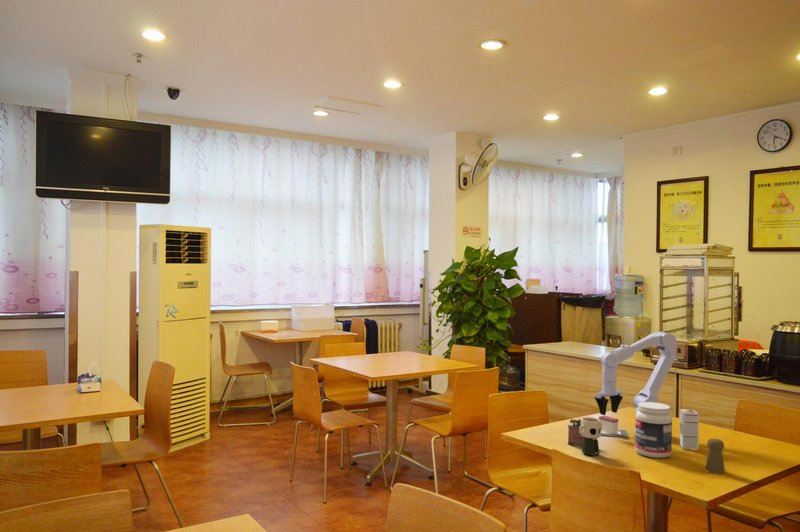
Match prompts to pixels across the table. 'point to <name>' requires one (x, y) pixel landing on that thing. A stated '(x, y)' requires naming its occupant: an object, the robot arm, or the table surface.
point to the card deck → (609, 424)
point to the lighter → (575, 433)
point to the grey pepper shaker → (715, 456)
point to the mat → (620, 434)
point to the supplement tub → (653, 430)
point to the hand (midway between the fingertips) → (608, 413)
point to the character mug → (590, 434)
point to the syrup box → (689, 429)
